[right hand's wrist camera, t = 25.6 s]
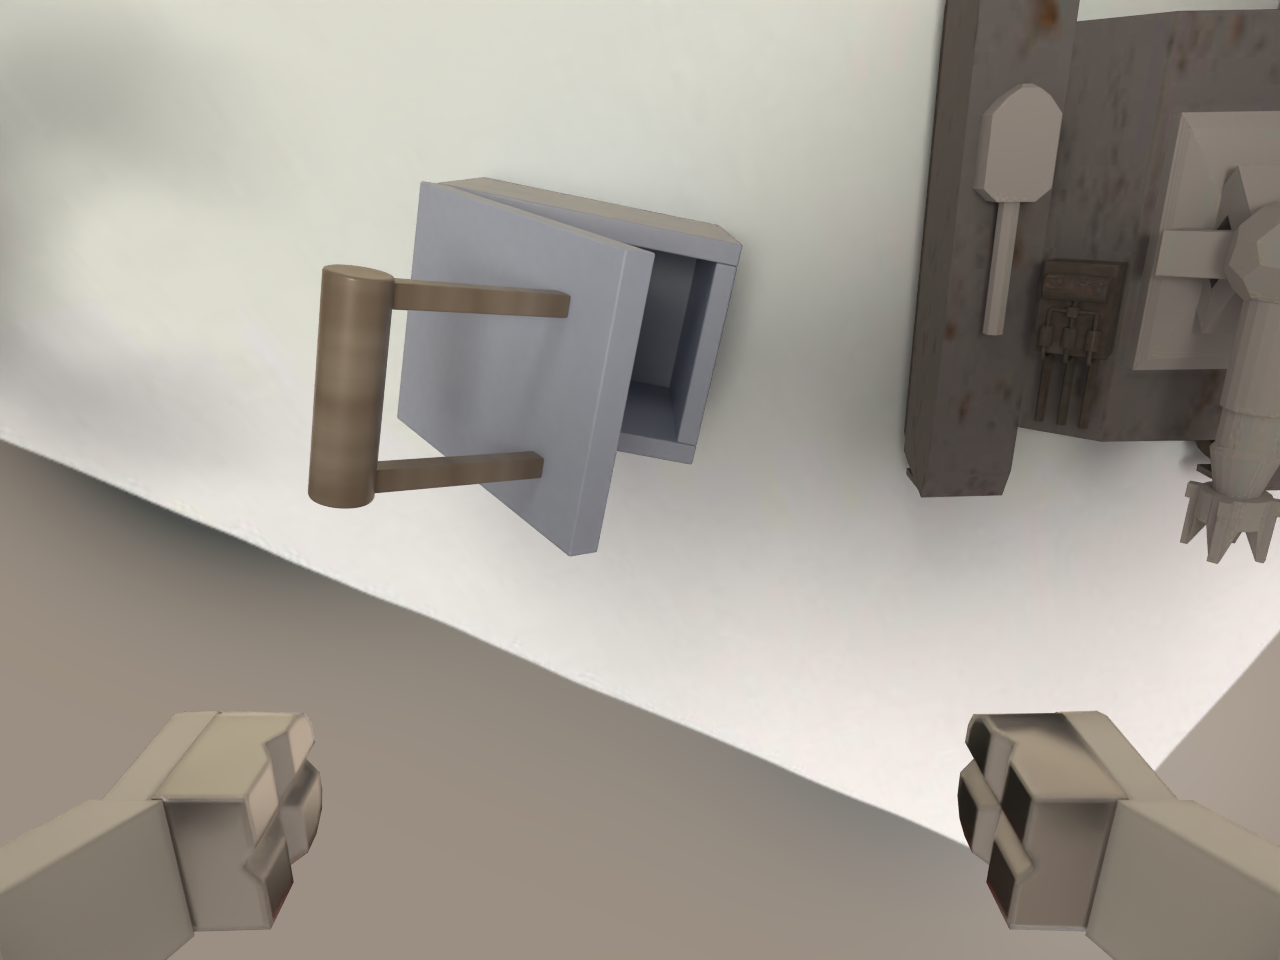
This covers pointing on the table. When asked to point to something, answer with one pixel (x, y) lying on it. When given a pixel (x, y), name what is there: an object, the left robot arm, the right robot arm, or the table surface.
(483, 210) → the lid
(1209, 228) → the toy
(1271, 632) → the table surface
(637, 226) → the chest
